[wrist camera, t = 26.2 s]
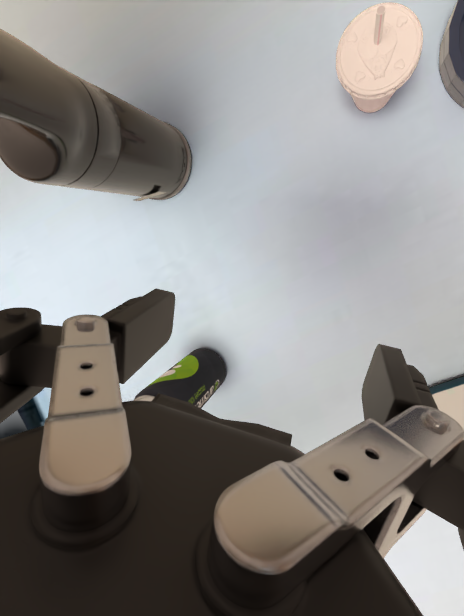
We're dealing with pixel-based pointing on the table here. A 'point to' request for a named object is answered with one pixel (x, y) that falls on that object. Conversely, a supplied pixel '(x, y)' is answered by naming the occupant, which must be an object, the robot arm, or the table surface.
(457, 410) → the external hard drive
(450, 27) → the pot
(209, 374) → the beverage can
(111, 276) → the table surface
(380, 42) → the smoothie
